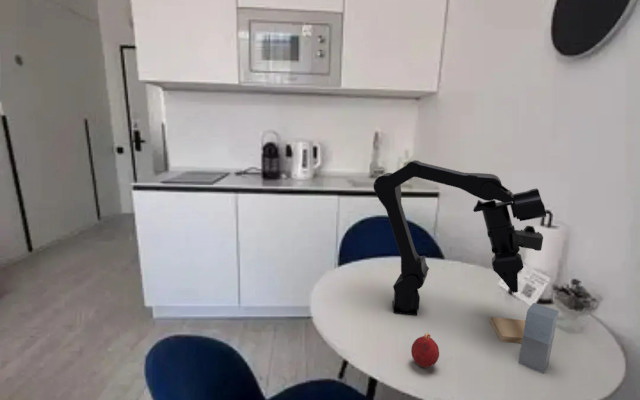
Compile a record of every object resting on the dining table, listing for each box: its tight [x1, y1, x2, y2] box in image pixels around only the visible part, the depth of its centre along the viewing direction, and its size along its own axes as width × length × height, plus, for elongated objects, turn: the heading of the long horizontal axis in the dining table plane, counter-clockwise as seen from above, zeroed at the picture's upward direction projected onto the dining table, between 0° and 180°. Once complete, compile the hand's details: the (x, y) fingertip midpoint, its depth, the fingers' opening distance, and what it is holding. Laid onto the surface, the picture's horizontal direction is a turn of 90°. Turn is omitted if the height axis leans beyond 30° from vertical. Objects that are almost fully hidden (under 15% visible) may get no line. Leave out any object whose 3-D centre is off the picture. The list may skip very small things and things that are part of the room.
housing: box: [517, 302, 560, 374], centre depth 82 cm, size 5×5×13 cm
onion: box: [410, 332, 440, 368], centre depth 80 cm, size 6×6×8 cm
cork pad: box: [489, 316, 526, 344], centre depth 95 cm, size 9×9×2 cm
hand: (514, 284), depth 92 cm, fingers open, 9 cm apart
